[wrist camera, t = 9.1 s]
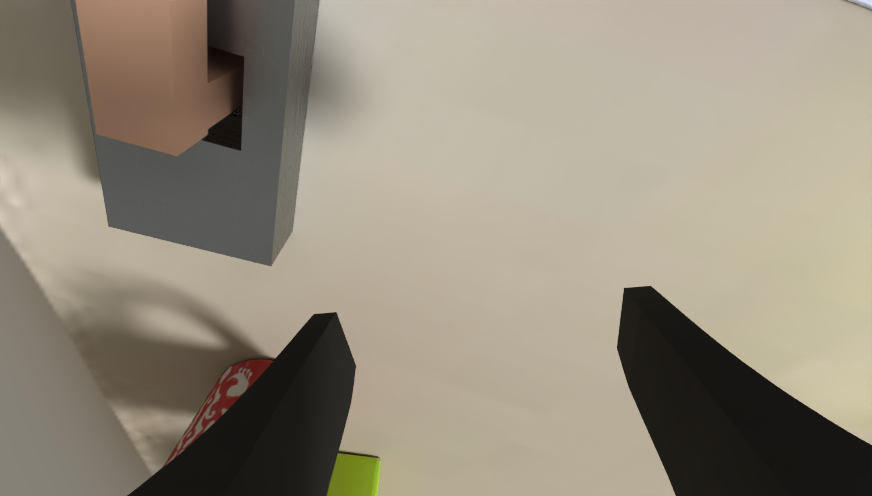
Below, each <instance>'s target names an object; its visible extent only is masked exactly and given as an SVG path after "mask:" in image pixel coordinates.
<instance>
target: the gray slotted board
mask: <svg viewBox="0 0 872 496" xmlns="http://www.w3.org/2000/svg"><path fill="white" fill-rule="evenodd" d="M71 4H72V10H73V16H74V22H75V28H76V34H77V40H78V46H79V52H80V58H81V64H82V70H83V76H84V82H85V88H86V94H87V100H88V106H89V112H90V118H91V124H92V130H93V136H94V142H95V148H96V154H97V160H98V166H99V172H100V178H101V184H102V190H103V196H104V202H105V208H106V214H107V220H108V226H109V227H113V228H117V229H121V230H125V231H129V232H133V233H137V234H142V235H146V236H150V237H154V238H158V239H162V240H166V241H170V242H174V243H178V244H182V245H186V246H191V247H195V248H199V249H203V250H207V251H211V252H215V253H219V254H223V255H227V256H231V257H235V258H239V259H244V260H248V261H252V262H256V263H260V264H264V265H268V266H272V264H273V263H274V261H275V259H276V258H277V256H278V254H279V253H280V251H281V249H282V248H283V246H284V244H285V243H286V241H287V239H288V238H289V236H290V234H291V233H292V229H293V221H294V212H295V204H296V195H297V187H298V178H299V169H300V161H301V152H302V144H303V135H304V127H305V118H306V110H307V101H308V93H309V84H310V75H311V67H312V58H313V50H314V41H315V33H316V24H317V16H318V7H319V0H207V46H211V47H214V48H217V49H221V50H224V51H227V52H231V53H234V54H237V55H240V56H244V82H243V112H242V118H241V117H237V116H234V115H230V114H229V115H228V116H226V117H225V118H223V119H222V120H220V121H219V122H217V123H216V124H215V125H213V126H212V127H210V128H209V129H208V135H207V136H205V137H204V138H202V139H201V140H200V141H198V142H197V143H195V144H194V145H193V146H191V147H190V148H188V149H187V150H186V151H184V152H183V153H181V154H180V155H179V156H174V155H171V154H167V153H163V152H160V151H156V150H152V149H148V148H145V147H141V146H137V145H134V144H130V143H126V142H123V141H119V140H115V139H112V138H108V137H104V136H101V135H97V134H96V129H95V122H94V116H93V110H92V103H91V97H90V91H89V84H88V78H87V72H86V65H85V59H84V53H83V46H82V40H81V34H80V27H79V21H78V15H77V8H76V2H75V0H71Z"/></svg>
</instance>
